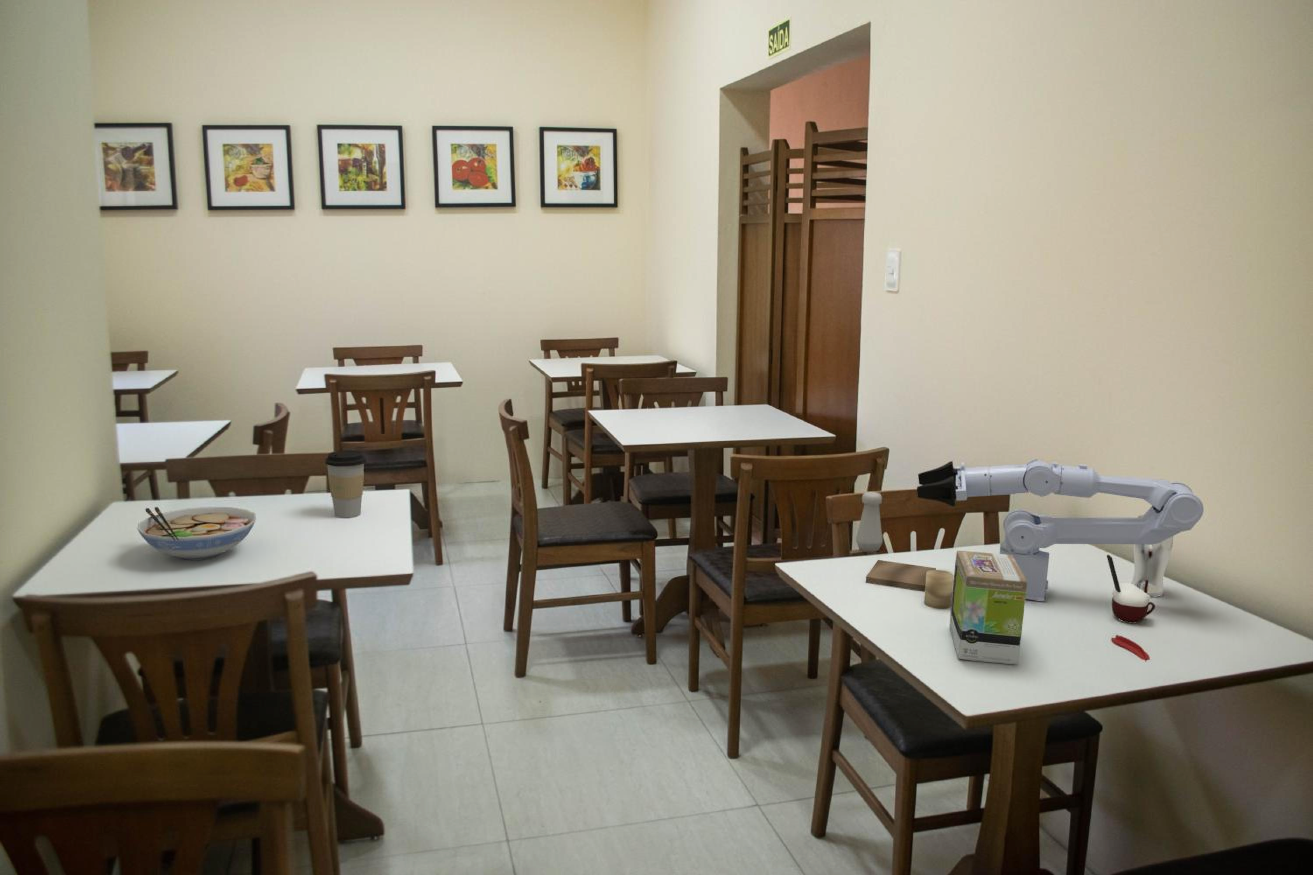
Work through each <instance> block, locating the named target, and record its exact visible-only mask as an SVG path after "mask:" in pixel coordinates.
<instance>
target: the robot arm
mask: <svg viewBox="0 0 1313 875" xmlns="http://www.w3.org/2000/svg"><path fill="white" fill-rule="evenodd" d="M965 464H966V463H965V462H964V461H963V462H960V465H958V466H955V467H954V462H953V460H950V461H949V462H947V463H945V464H944V465H941V466H939V467H936V468H933V469H930V470H927V471H926V470H925V471H923V472H920V473H918V474H917V475H918V478H917V479H918V485H917V486H916V492H917V493H916V494H917V498H918V499H923V500H930V501H937V502H941V503H943V504H946V505H948V506H951V507H956V502H955V501H958V502H959V501H968V498H971V497H987V496H988V497H990V496H991V497H992V496H1003V495H1004V496H1005V495H1006V496H1007V495H1016V494H1025V493H1026V494H1028V493H1030V494H1032V495H1035V496H1038V497H1042V498H1043V497H1047V496H1049V495H1050V494H1054V495H1058V496H1069V497H1076V498H1087V499H1089V498H1092V497H1094V495H1096V494H1098V493H1100V494H1105V495H1107V494H1108V495H1115V496H1121V497H1126V498H1135V499H1141V500H1144V501H1145V502H1147V503H1148V504H1149V505H1151V506H1150V508H1149V509H1147V511H1146V512H1145V513H1144V514H1142V515H1143V516H1142V517H1140V518H1137V517H1052V516H1049V515H1046V514H1039V513H1038V514H1036V513H1031V512H1030V511H1028V510H1023V509H1015V510H1013V511H1010V512H1009V513H1008V514H1007V515H1005V518H1004V520H1003V530H1004V540H1003V541H1001V542H1000V544H999V546H1000V547H999V554H1007V555H1013V557H1014V559H1015V560H1016V562H1017V564H1018V566H1019V567H1020V569H1021V571H1022V573H1023V574H1024V576H1025V578H1026V581H1027V590H1026V599H1025V600H1031V601H1038V602H1044V601H1045V598H1046V597H1045V596H1046V591H1047V590H1048V588H1049V580H1048V574H1049V573H1048V572H1049V563H1050V552H1048V551H1042V550H1040V549H1047V548H1049V547H1051V546H1054V545H1133V544H1150V545H1152V544H1158V543H1160V542H1162V541H1164V540H1166V539H1168V538H1170V537H1172V536H1173V537H1174V536H1176V535H1178V534H1181V533H1182V532H1188V531H1191V530H1192V529H1193V528H1194V527H1195V525H1196V524H1197V523H1198V522H1199V521H1200V520H1201V518H1202V517H1203V515H1204V504H1203V502H1202V501H1201V499H1200V498H1199V497H1197V495H1195V494H1194V492H1193V491H1192V489H1191V487H1189V485H1187V484H1185V483H1182V482H1179V481H1178V482H1177V481H1173V482H1172V481H1170V480H1166V479H1159V478H1149V477H1148V478H1146V477H1145V478H1144V477H1129V476H1113V475H1099V474H1098V473H1097V472H1096V470H1095V469H1094V468H1092V467H1088V465H1087V464H1086V463H1079V464H1078V466H1076V465H1075V466H1074V465H1064V464H1063V465H1062V464H1059V462H1058V461H1052V463H1051V465H1050V464H1049V463H1047V462H1045V461H1043V460H1038V459H1031V460H1029V461H1028V462H1027V463H1026V464H1025V463H1024V464H1003V465H989V466H977V467H976V466H975V467H966V465H965Z"/></svg>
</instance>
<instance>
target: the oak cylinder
mask: <svg viewBox="0 0 1313 875" xmlns="http://www.w3.org/2000/svg"><path fill="white" fill-rule="evenodd" d="M953 584H954V574H953V573H952V572H949V571H946V570H941V569H936V570H930V571H927V573H926V584H925V591H924V601H923V604H924V605H925V606H927V607H929V608H931V609H935V610H947V609H951V604H952V593H953Z"/></svg>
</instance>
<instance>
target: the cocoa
mask: <svg viewBox="0 0 1313 875" xmlns="http://www.w3.org/2000/svg"><path fill="white" fill-rule="evenodd" d="M1106 560H1107V562H1108V567H1109V570H1110V574H1111V578H1112V580H1113V585H1114V587H1113V590H1112V592H1111V594H1112V597H1111V609H1112V614H1113V615H1114V616H1115V617H1116V618H1117V619H1118V620H1119V619H1120V620H1119V621H1121V620H1122V622H1124V621H1125V622H1124V623H1129V622H1131V624H1135V623H1134V622H1137V623H1139V622H1141V621H1144V619H1145V618H1146V617H1147V616H1149V615H1150V614H1152V613H1153V612H1154V610H1155V608H1156V604H1155V603H1154V602H1152V601H1150V599H1151V597H1150V596H1149V595H1148V594H1146V593H1145V592H1144V591H1143V590H1141V589H1139V588H1138V587H1136V586H1135V585H1133V584H1131V583H1132V582H1119V579H1118V575H1117V572H1116V571H1117V570H1116V567H1115V564H1114V563H1115V562H1114V560H1113V557H1112V556H1111V555H1110V554H1107V555H1106ZM1149 606H1151V608H1150V609H1149Z"/></svg>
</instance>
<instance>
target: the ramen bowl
mask: <svg viewBox="0 0 1313 875" xmlns="http://www.w3.org/2000/svg"><path fill="white" fill-rule="evenodd" d="M154 511H155V513H156V515H155V513H153V511H152V510H151V509H150V508H149V507H145V513H147V514H148V515H149V517H147V518H145V519H144V520H142V521H140V522H139V523H138V525H137V532H138V533H139V535H140V536H141V537H142V538H143V540H144V541H145V542H147V544H149V545H150V546H151V547H152V548H153V549H155V550H157V551H158V552H160V553H162V554H165V555H168V556H170V557H171V556H172V557H177V558H182V559H183V560H188V561H189V560H190V561H201V560H206V559H207V560H208V559H212V558H214V557H217V556H218V555H220V554H222V553H224V552H227V551H229V550H232V549H233V548H235V547H236V546H237V545H238V544H240V543H242V542H243V541H244V540H245V538H246V537H247V536H248V535H249V533H250V532H251V531H252V529H253V527H254V525H255V522H256V520H257V517H256V513H255V512H252V511H250V510H248V509H244V508H238V507H232V506H204V507H190V508H183V509H177V510H172V511H167V512H166V511H165V512H161V510H160V508H159V507H158V506H155V507H154Z"/></svg>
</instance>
